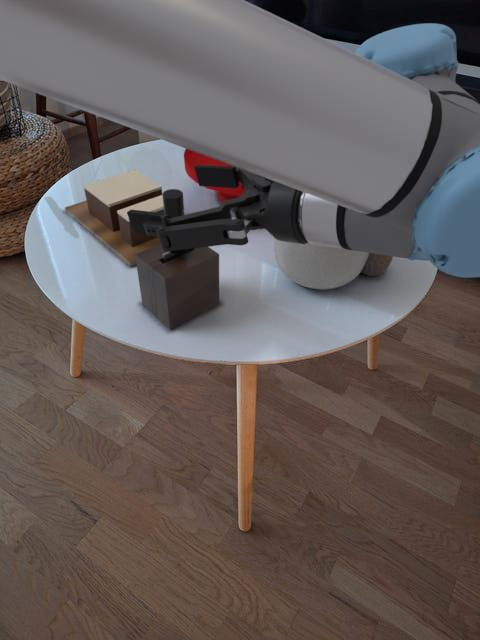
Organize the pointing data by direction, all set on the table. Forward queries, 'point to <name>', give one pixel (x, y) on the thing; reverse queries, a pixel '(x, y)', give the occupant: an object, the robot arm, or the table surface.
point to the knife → (175, 208)
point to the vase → (376, 264)
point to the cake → (118, 195)
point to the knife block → (178, 283)
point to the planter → (318, 264)
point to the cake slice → (125, 223)
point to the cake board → (108, 234)
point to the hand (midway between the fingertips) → (167, 196)
